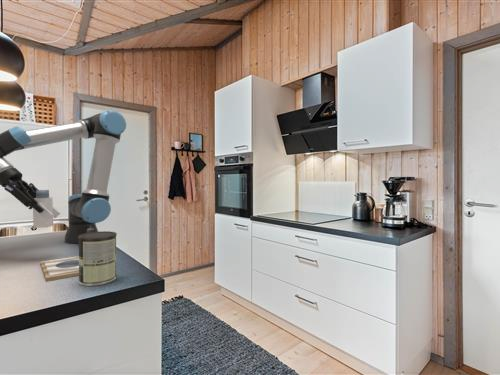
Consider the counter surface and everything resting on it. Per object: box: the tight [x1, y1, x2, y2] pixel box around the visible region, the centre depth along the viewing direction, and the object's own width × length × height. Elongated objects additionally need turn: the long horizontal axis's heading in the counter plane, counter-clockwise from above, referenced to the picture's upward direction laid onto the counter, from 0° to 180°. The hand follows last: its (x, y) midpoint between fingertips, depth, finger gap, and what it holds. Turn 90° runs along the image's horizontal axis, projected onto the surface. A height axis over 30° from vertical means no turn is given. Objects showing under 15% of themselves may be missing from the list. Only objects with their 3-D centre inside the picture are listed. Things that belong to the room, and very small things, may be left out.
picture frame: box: [39, 255, 79, 282], centre depth 98 cm, size 22×16×1 cm
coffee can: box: [78, 230, 117, 287], centre depth 86 cm, size 10×10×14 cm
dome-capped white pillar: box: [32, 189, 54, 229], centre depth 107 cm, size 4×4×14 cm
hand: (54, 216), depth 108 cm, fingers closed on dome-capped white pillar, 4 cm apart
